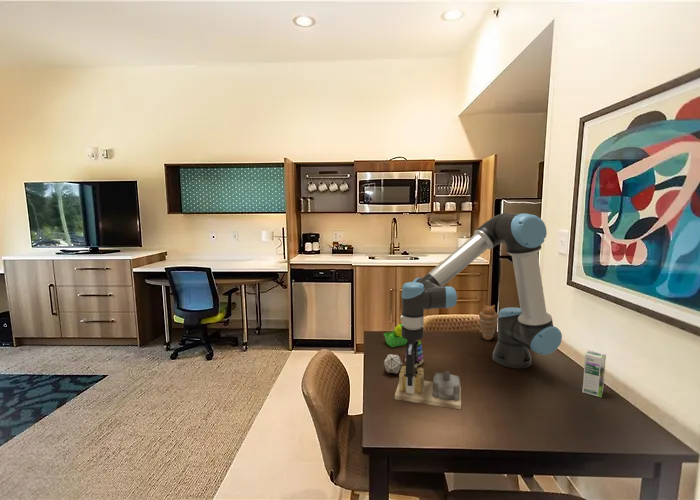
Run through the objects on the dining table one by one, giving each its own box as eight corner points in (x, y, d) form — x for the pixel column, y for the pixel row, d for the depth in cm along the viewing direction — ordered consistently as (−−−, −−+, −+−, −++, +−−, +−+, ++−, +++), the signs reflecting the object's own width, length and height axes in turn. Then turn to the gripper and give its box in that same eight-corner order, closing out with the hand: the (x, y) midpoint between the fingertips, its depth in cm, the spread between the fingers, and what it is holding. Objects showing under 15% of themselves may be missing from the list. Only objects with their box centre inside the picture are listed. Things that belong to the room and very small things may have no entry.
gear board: (460, 389, 125) (461, 366, 124) (460, 409, 113) (461, 384, 112) (400, 381, 132) (400, 358, 131) (394, 399, 120) (394, 374, 118)
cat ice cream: (496, 338, 173) (498, 303, 171) (497, 343, 166) (499, 307, 163) (478, 335, 176) (479, 301, 174) (478, 341, 169) (479, 306, 167)
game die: (396, 380, 140) (410, 360, 140) (392, 382, 132) (407, 361, 132) (379, 365, 143) (393, 346, 143) (374, 367, 135) (389, 346, 136)
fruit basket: (402, 339, 173) (402, 317, 171) (412, 345, 165) (413, 323, 163) (383, 343, 168) (383, 321, 167) (392, 350, 160) (392, 326, 159)
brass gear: (402, 380, 129) (402, 365, 128) (424, 383, 127) (424, 368, 126) (398, 391, 121) (398, 375, 121) (422, 394, 119) (422, 378, 118)
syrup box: (581, 392, 122) (584, 353, 120) (584, 386, 127) (587, 348, 125) (601, 398, 119) (604, 358, 117) (603, 391, 123) (606, 352, 121)
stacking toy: (422, 358, 151) (423, 317, 149) (424, 366, 143) (425, 323, 141) (404, 357, 152) (404, 317, 149) (405, 366, 144) (405, 323, 142)
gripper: (406, 316, 132) (405, 372, 135) (396, 335, 112) (396, 400, 115) (425, 317, 130) (424, 374, 133) (420, 338, 110) (419, 404, 113)
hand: (411, 386), depth 124 cm, fingers closed on brass gear, 8 cm apart
